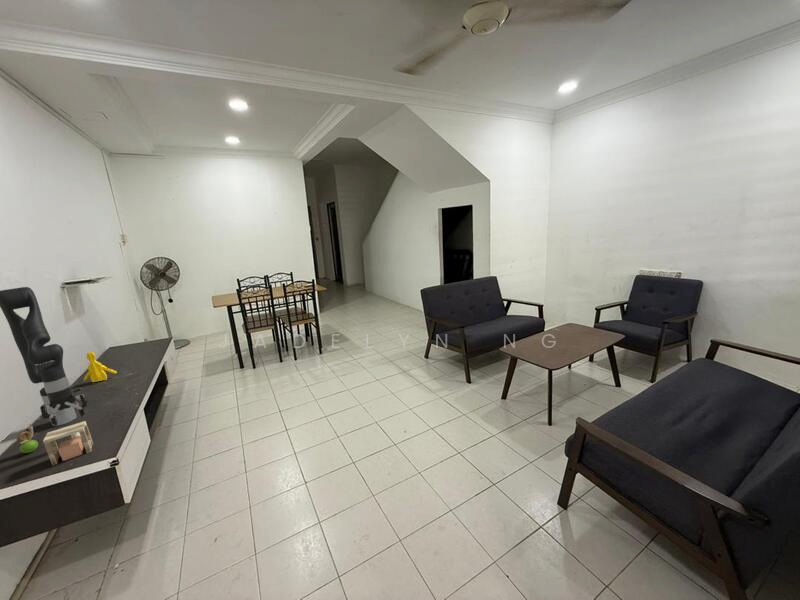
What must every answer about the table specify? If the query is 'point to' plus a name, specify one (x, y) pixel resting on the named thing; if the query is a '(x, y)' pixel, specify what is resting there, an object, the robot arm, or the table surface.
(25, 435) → the snail figurine
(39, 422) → the table surface
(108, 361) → the table surface
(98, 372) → the figure statuette
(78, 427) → the beige u-shaped block
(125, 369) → the table surface
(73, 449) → the cube base joystick
